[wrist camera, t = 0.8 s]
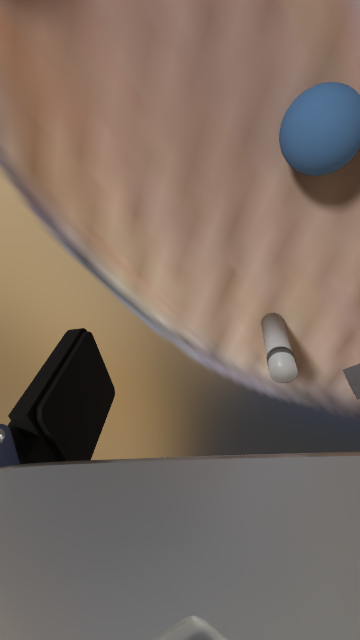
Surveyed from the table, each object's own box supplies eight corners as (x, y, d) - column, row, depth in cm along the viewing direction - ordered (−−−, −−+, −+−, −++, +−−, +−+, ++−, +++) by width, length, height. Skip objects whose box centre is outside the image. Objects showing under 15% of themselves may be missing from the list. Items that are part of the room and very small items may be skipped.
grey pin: (277, 308, 37) (290, 357, 29) (287, 325, 38) (303, 377, 30) (256, 319, 38) (264, 368, 30) (267, 335, 38) (277, 387, 31)
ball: (335, 65, 25) (362, 55, 20) (363, 140, 28) (394, 148, 23) (261, 118, 28) (270, 120, 23) (293, 183, 30) (308, 199, 25)
